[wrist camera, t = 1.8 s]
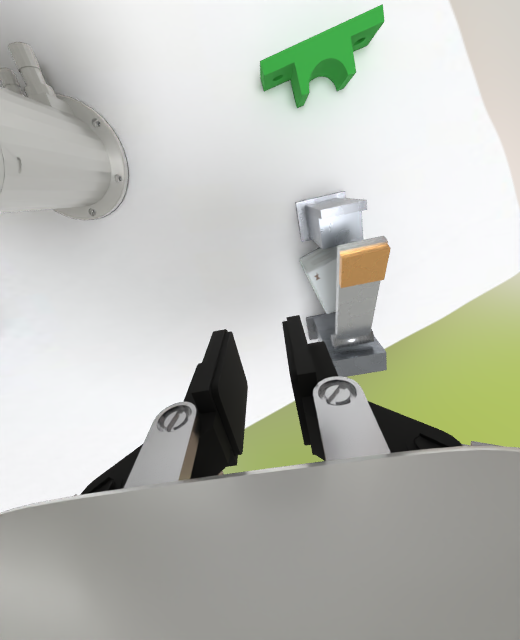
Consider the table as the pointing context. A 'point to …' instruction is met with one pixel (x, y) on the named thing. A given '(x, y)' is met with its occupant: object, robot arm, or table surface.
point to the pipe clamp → (322, 56)
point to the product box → (322, 275)
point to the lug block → (331, 219)
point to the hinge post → (347, 349)
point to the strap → (358, 289)
